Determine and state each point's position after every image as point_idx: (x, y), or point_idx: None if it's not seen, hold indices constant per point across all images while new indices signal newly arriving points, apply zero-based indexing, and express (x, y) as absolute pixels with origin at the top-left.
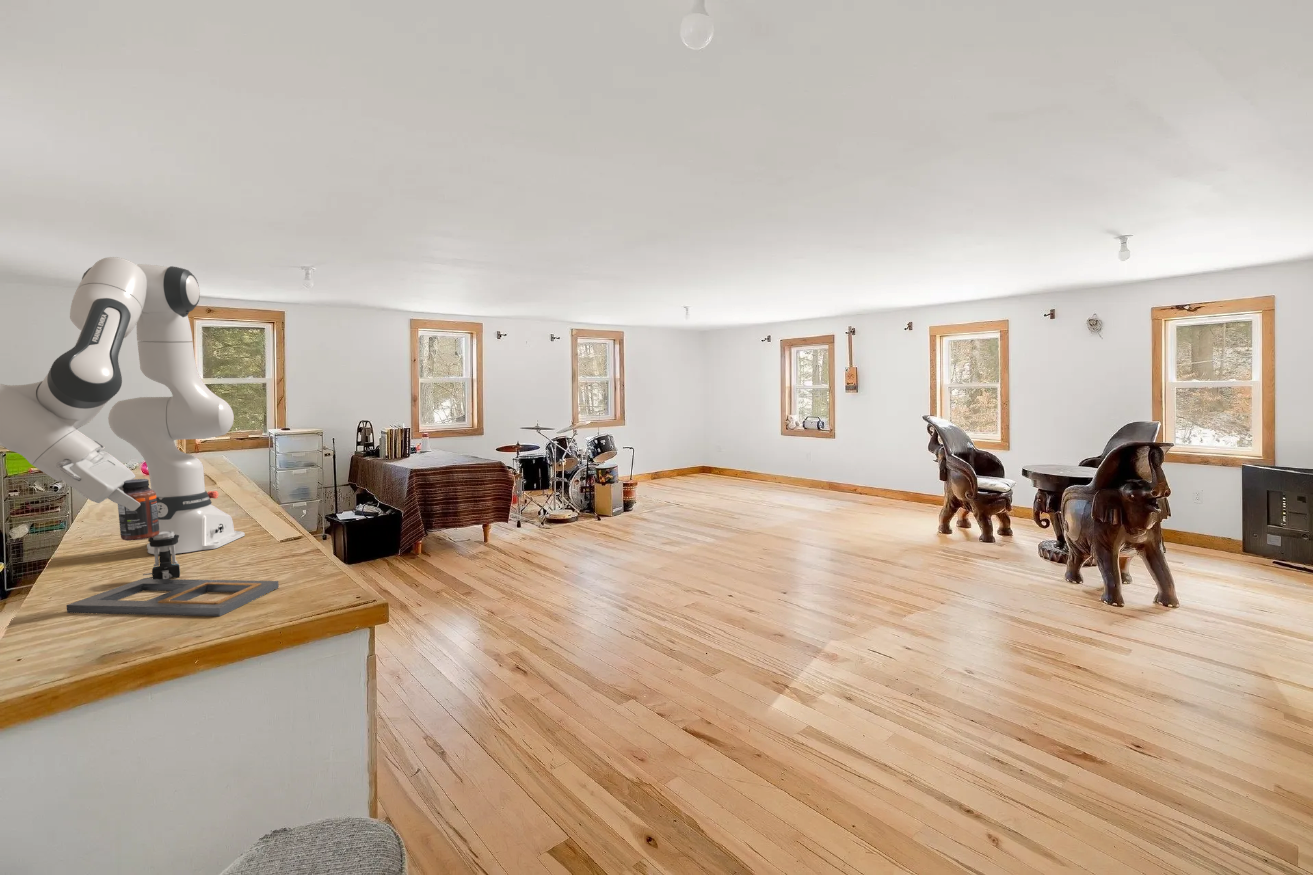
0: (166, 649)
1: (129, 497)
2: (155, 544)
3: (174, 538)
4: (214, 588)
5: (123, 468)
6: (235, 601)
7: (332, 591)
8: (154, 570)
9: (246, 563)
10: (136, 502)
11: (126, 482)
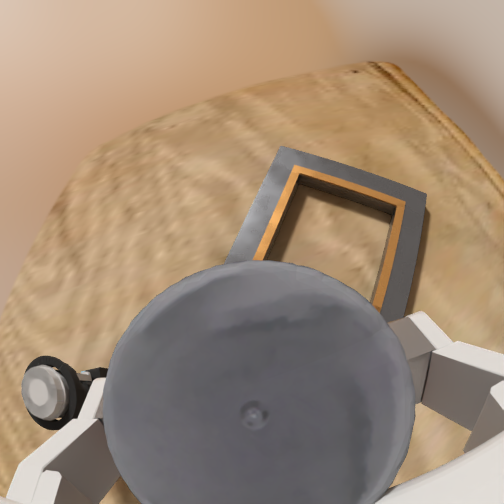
0: None
1: (476, 346)
2: (79, 409)
3: (62, 362)
4: (267, 253)
5: None
6: (391, 181)
7: (322, 92)
8: None
9: (64, 262)
10: (431, 325)
11: (403, 460)
